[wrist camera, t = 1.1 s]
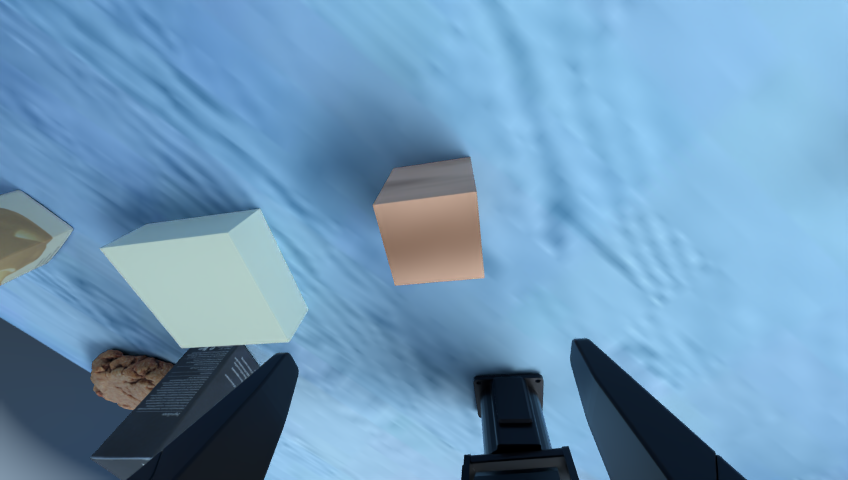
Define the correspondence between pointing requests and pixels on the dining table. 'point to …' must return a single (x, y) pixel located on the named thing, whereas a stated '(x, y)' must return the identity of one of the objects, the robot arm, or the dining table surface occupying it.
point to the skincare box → (27, 235)
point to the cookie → (126, 377)
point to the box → (174, 406)
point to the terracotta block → (431, 222)
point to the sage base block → (212, 279)
